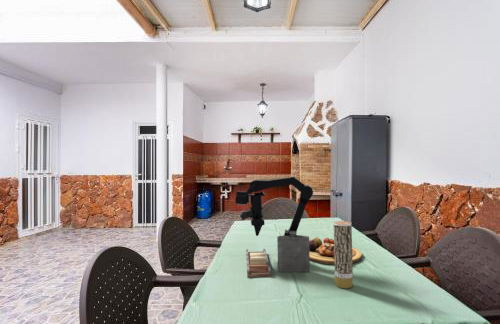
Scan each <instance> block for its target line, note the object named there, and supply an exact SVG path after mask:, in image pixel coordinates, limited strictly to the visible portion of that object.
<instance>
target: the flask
mask: <svg viewBox="0 0 500 324" xmlns="http://www.w3.org/2000/svg"><path fill="white" fill-rule="evenodd" d="M289 233H290V236H283V235H278V236H277V240H276V241H277V272H278V273H305V274H308V273H311V268H310V267H311V265H310V261H311V260H310V255H309V240H310V236H308V235H301V234H300V235H299V234H298V233H297V232H296V231H290V232H289Z"/></svg>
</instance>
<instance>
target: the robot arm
mask: <svg viewBox="0 0 500 324" xmlns="http://www.w3.org/2000/svg"><path fill="white" fill-rule="evenodd" d="M284 186H285V187H286V186H292V187H294V188H295V190H298V192H300V193H299V198H298V199H299V200H298V203H297V206H296V209H295V212H294V215H293V217H292V219H291V223H290V225H289V228H288V229H285V230H284V233H283V235H282V236H290V233H289V232H290V231H296V232H297V231H298V229H299V226H300V222H301V220H302V219H303V218H302V217H303V215H304V212H305V209H306V206H307V204H308V203H309V201H310V200H311V198H312V197H313V194H314V190H313V187H312V186H311V185H309V184H305V183H304V182H302V181H300V180H299V179H297V178H296V177H295V176H290V177H283V178H275V179H254V180H252V181H251V182H250V183H249V187H248V189H247V190H246V191H236V194H235V199H234V201H235V204H236V205H237V206H239V205H240V206H241V205H243V206H245V205H247V206H248V205H249V204H248V203H250V206H249V209H247V210H244V211H241V212H240V213H239V216H240V219H241V221H245V220H246V219H249V218H250V224H251V226H253V228H254V232H255V236H256V237H258V236H259V235H260V232H261V229H262V228H263V226H265V220H264V218H263V217H264V216H263V210H264V209H263V208H264V207H263V197H265V196H266V195H267V194H266V193H265V192H264V191H263V190H266V189H271V188H278V187H284ZM253 193H254V194H253Z"/></svg>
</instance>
